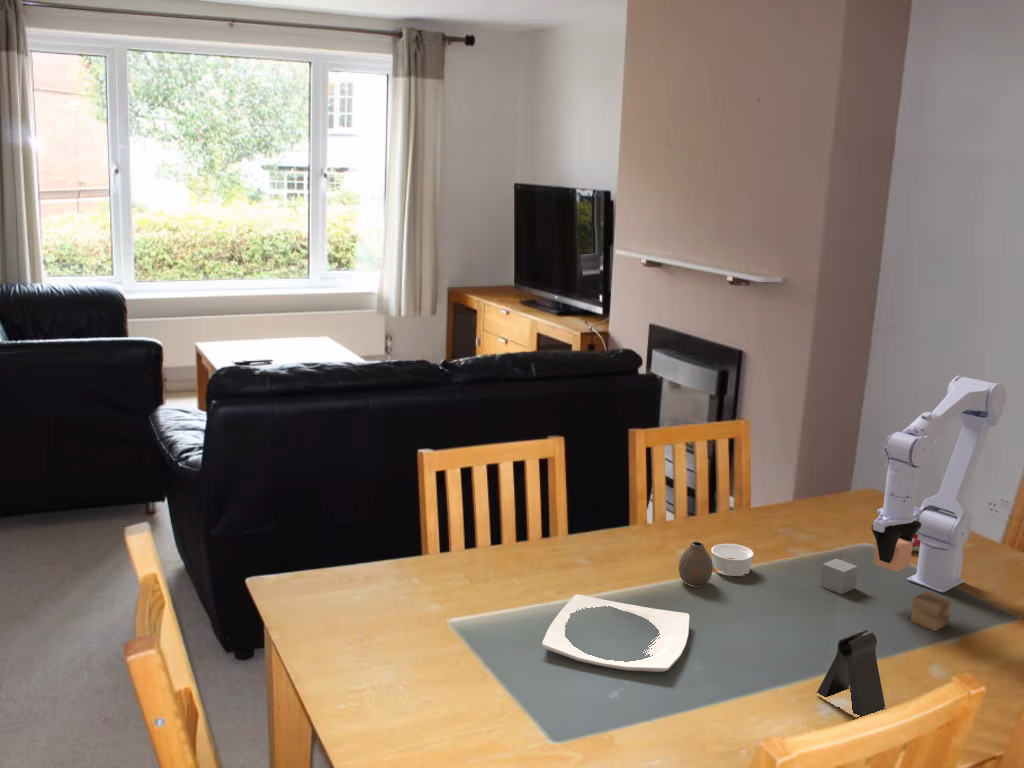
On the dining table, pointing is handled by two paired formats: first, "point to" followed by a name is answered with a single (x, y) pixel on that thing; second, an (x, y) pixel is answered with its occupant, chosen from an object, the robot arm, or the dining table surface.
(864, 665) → the phone stand
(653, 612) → the plate
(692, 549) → the vase
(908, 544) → the terracotta block
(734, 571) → the ramekin
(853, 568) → the slate block
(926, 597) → the walnut block
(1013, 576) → the dining table surface
